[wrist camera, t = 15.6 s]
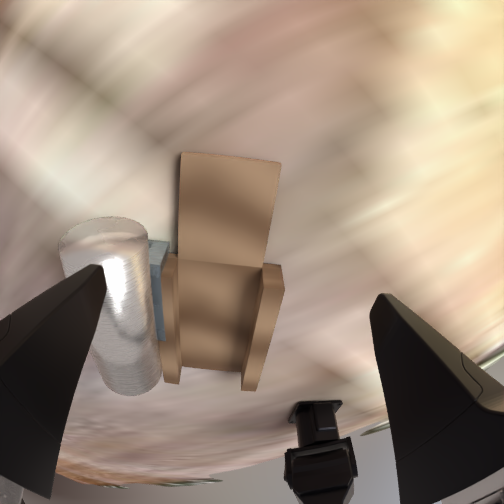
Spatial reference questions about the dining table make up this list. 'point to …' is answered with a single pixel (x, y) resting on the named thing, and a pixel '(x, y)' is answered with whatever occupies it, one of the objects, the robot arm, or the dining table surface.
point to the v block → (157, 263)
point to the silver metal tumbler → (119, 300)
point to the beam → (221, 269)
